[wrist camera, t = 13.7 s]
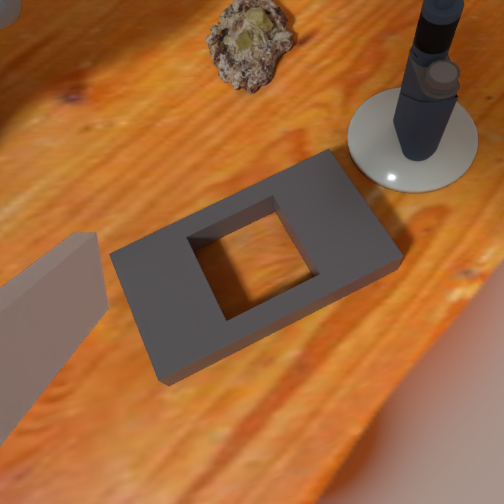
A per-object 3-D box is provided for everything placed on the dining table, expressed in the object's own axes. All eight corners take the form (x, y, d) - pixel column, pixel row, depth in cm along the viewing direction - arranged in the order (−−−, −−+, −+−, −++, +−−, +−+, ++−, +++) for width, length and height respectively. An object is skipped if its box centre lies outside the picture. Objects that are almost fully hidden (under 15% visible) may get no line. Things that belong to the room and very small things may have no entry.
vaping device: (420, 108, 39) (463, -30, 28) (438, 161, 37) (493, 34, 26) (388, 113, 39) (419, -22, 28) (404, 166, 37) (445, 43, 26)
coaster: (324, 122, 40) (325, 118, 40) (427, 73, 41) (429, 69, 40) (390, 214, 36) (391, 211, 35) (503, 158, 37) (505, 154, 36)
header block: (121, 266, 37) (109, 253, 34) (327, 167, 38) (328, 148, 36) (168, 386, 33) (158, 380, 30) (397, 269, 34) (403, 256, 32)
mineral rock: (201, -7, 45) (282, -34, 42) (221, 28, 49) (297, 5, 46) (191, 84, 41) (280, 61, 38) (214, 115, 45) (296, 96, 42)
